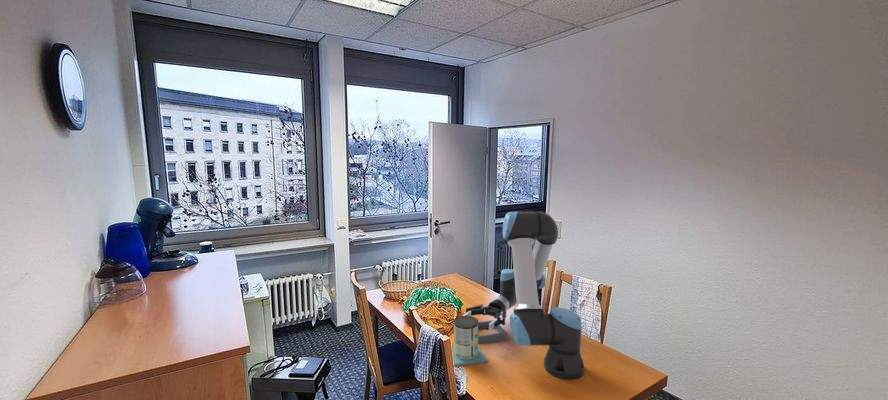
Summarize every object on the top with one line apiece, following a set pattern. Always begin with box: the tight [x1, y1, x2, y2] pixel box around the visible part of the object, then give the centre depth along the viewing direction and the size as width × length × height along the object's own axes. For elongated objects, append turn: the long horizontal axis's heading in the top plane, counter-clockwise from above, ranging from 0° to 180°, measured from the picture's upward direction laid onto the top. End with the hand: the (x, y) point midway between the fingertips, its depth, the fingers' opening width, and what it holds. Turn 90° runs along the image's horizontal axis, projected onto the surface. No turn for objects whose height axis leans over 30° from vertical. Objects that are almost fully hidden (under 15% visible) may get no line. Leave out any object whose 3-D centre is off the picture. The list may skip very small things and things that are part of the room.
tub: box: [478, 319, 508, 344], centre depth 168 cm, size 14×14×3 cm
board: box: [452, 344, 488, 367], centre depth 150 cm, size 14×14×1 cm
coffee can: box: [453, 315, 479, 359], centre depth 149 cm, size 10×10×14 cm
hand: (475, 322), depth 155 cm, fingers open, 13 cm apart
